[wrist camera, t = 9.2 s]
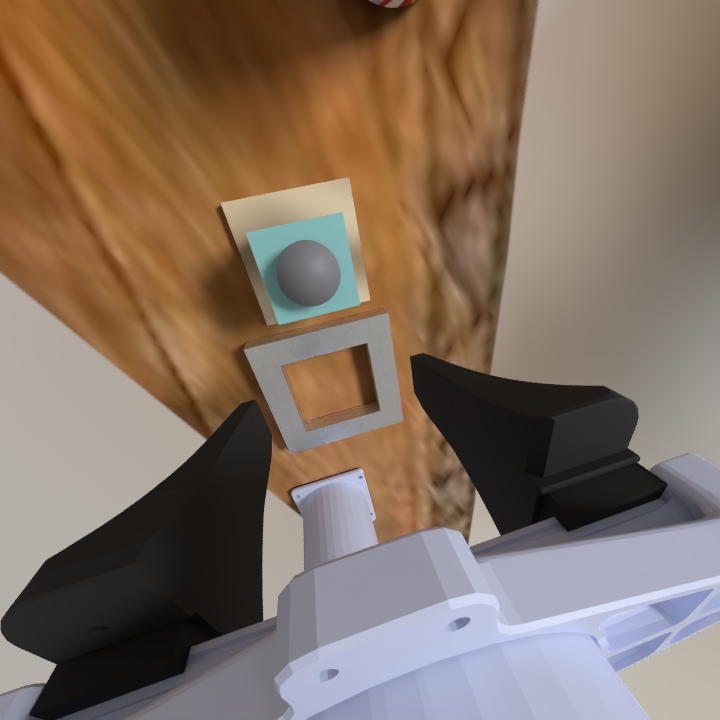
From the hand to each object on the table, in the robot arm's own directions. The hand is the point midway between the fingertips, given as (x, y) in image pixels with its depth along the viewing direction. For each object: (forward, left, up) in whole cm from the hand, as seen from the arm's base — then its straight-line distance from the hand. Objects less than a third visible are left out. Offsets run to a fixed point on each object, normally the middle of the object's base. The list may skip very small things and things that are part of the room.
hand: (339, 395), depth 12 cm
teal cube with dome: (+5, 0, -10) cm, 11 cm away
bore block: (-5, 0, -10) cm, 12 cm away
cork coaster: (+5, 0, -10) cm, 11 cm away
